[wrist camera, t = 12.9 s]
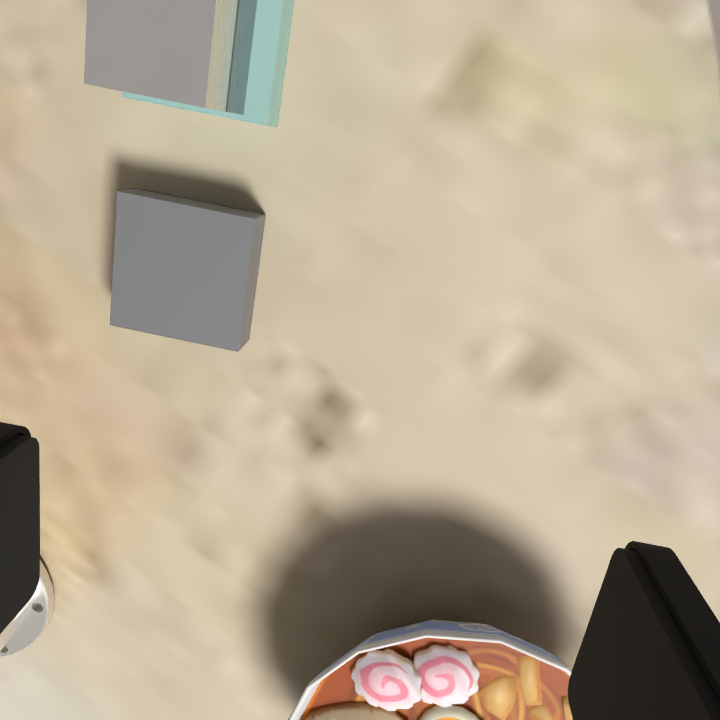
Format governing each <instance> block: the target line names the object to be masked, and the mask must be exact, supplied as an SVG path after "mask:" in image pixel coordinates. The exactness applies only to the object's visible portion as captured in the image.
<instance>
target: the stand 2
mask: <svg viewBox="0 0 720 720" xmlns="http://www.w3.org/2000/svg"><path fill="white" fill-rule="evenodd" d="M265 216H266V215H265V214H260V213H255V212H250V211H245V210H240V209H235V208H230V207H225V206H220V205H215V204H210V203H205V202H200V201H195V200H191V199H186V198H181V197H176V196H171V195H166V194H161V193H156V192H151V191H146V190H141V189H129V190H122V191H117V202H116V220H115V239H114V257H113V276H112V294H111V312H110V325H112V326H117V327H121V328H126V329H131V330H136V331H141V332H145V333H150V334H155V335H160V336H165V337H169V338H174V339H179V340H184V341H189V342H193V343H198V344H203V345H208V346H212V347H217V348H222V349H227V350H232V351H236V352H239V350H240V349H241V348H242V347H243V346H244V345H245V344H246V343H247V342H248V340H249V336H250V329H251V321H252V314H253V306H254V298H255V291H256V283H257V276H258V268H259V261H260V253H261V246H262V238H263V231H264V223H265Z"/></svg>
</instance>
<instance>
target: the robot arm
mask: <svg viewBox="0 0 720 720" xmlns="http://www.w3.org/2000/svg"><path fill="white" fill-rule="evenodd" d="M53 608H54V593H53V586H52V583H51V580H50V577H49V574H48V572H47V570H46V568H45V567H44V565H43V563H42V561H41V560H40V484H39V443H38V441H37V439H36V438H33V437H31V434H30V432H29V430H28V429H27V428H26V427H23V426H18V425H13V424H7V423H2V422H0V657H2V656H7V655H12V654H14V653H17V652H19V651H22V650H24V649H25V648H27V647H28V646H30V645H31V644H32V643H34V641H35V640H36V639H37V638H38V637H39V636H40V635H41V633H42V632H43V631H44V629H45V628H46V626H47V625H48V623H49V622H50V619H51V616H52V613H53ZM568 702H569V707H570V710H571V714H572V718H573V720H720V623H719V621H718V620H717V618H716V616H715V615H714V613H713V612H712V610H711V609H710V607H709V606H708V604H707V602H706V601H705V599H704V598H703V596H702V595H701V593H700V592H699V590H698V588H697V587H696V585H695V584H694V582H693V581H692V579H691V578H690V576H689V575H688V573H687V571H686V570H685V568H684V567H683V565H682V564H681V562H680V561H679V559H678V557H677V556H676V554H675V553H674V552H673V551H672V550H671V549H670V548H667V547H662V546H657V545H651V544H646V543H641V542H635V541H632V542H629V543H628V545H627V546H626V547H625V549H622V548H617V549H616V550H615V551H614V553H613V555H612V557H611V560H610V563H609V566H608V569H607V572H606V575H605V578H604V580H603V583H602V586H601V589H600V592H599V595H598V598H597V601H596V603H595V606H594V609H593V612H592V615H591V618H590V621H589V624H588V626H587V629H586V632H585V635H584V638H583V641H582V644H581V647H580V649H579V652H578V655H577V658H576V661H575V664H574V667H573V670H572V672H571V675H570V679H569V683H568Z"/></svg>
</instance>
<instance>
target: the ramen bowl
mask: <svg viewBox="0 0 720 720" xmlns="http://www.w3.org/2000/svg"><path fill="white" fill-rule="evenodd" d="M571 672H572V671H571V670H570V669H569V668H568V667H567V666H566V665H565V664H564V663H563V662H562V661H560V660H559V659H558V658H557V657H556V656H555V655H553V654H551V653H549V652H548V651H546V650H544V649H543V648H541V647H538V646H536V645H534V644H532V643H529V642H527V641H525V640H522V639H520V638H518V637H516V636H513V635H511V634H509V633H506V632H504V631H502V630H499V629H497V628H495V627H493V626H490V625H487V624H481V623H468V622H454V621H441V620H429V621H425V622H420V623H416V624H412V625H408V626H404V627H400V628H396V629H391V630H387V631H383V632H379V633H375V634H374V635H372V636H371V637H369V638H367V639H366V640H364V641H363V642H362V643H360V644H359V645H357V646H356V647H355V648H353V649H352V650H350V651H349V652H348V653H346V654H345V655H344V656H342V657H341V658H339V659H338V660H337V661H335V662H334V663H332V664H331V665H330V666H328V667H327V668H325V669H324V670H323V671H321V672H320V673H319V674H318V675H317V676H316V677H315V678H314V679H313V680H312V681H311V682H310V683H309V684H308V685H307V686H306V688H305V690H304V692H303V693H302V695H301V697H300V699H299V701H298V702H297V704H296V706H295V708H294V710H293V712H292V713H291V715H290V717H289V719H288V720H573V718H572V714H571V710H570V707H569V702H568V683H569V679H570V675H571Z"/></svg>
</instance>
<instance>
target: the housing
mask: <svg viewBox="0 0 720 720" xmlns="http://www.w3.org/2000/svg"><path fill="white" fill-rule="evenodd" d="M256 8H257V0H87V24H86V49H85V74H84V84H89V85H94V86H99V87H104V88H109V89H114V90H119V91H124V92H129V93H134V94H139V95H143V96H148V97H153V98H158V99H163V100H168V101H173V102H178V103H183V104H188V105H193V106H197V107H202V108H208V109H213V110H219V111H224V112H230V113H235V114H241V115H244V108H245V99H246V91H247V83H248V74H249V66H250V58H251V49H252V41H253V33H254V25H255V16H256Z"/></svg>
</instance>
